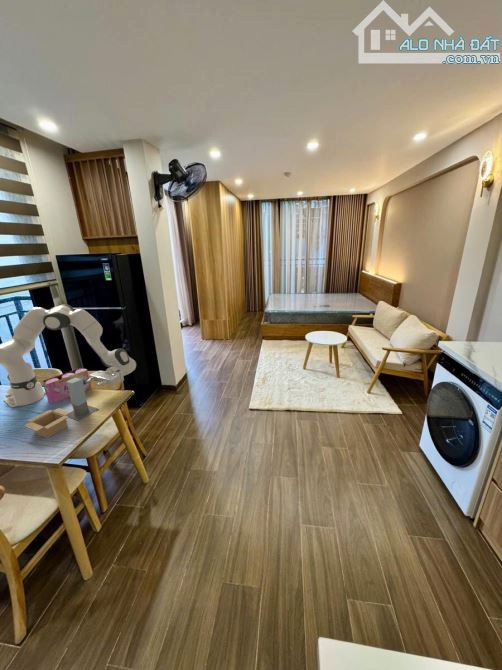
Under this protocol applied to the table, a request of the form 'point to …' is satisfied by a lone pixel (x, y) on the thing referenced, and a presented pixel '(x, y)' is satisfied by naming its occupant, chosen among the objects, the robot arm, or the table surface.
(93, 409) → the mat
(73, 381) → the pale upright canister
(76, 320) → the robot arm
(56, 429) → the carton
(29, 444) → the table surface
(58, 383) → the pink multipack
